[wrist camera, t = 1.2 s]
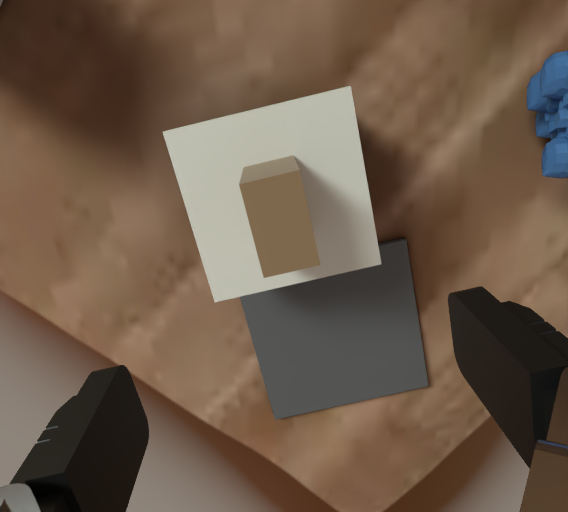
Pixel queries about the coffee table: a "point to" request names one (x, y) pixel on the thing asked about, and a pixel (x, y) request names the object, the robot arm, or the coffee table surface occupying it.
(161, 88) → the coffee table surface
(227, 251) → the lid
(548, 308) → the coffee table surface
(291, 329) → the rubber mat
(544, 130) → the grapes
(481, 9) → the coffee table surface
